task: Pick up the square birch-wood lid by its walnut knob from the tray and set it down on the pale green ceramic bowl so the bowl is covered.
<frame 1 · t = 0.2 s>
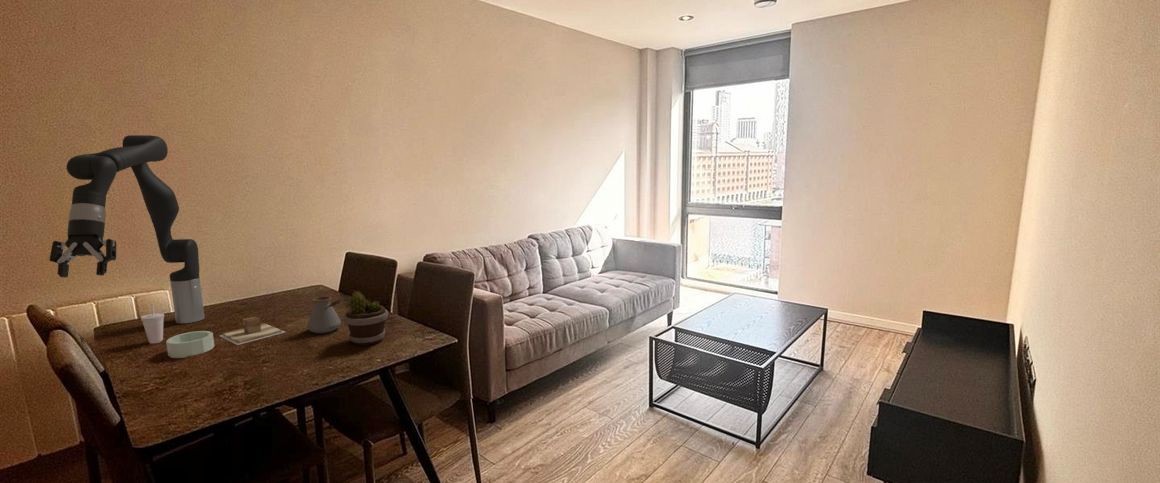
hand: (81, 276, 140), 31 cm above the table, tool tilted 20°, fingers open, 8 cm apart
coffee pot: (330, 334, 184), on the table
flowerpot: (367, 341, 177), on the table
bowl: (191, 351, 167), on the table
smoothie: (156, 342, 175), on the table
tray: (253, 334, 182), on the table
lid: (253, 333, 182), resting on tray
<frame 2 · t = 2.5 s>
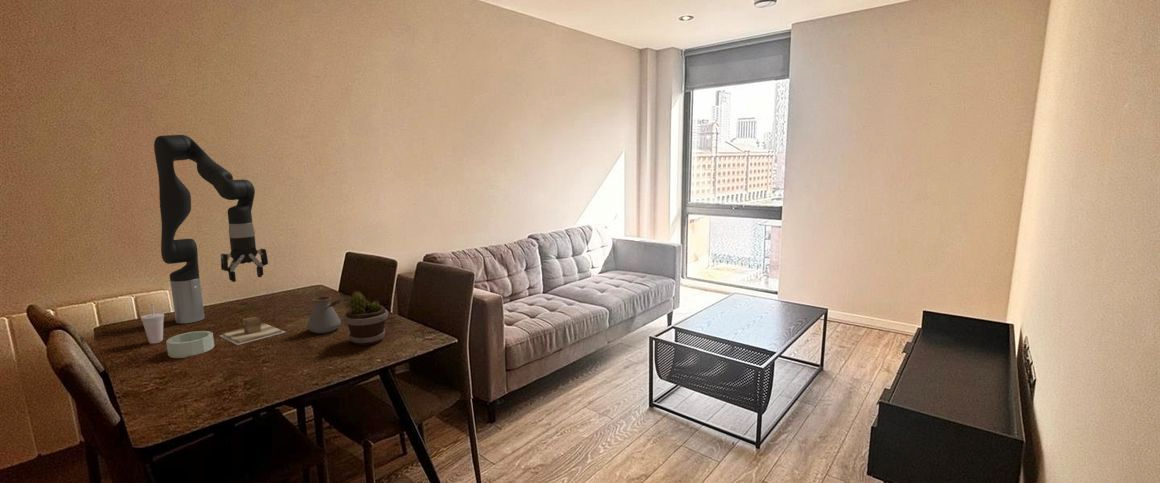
hand: (246, 279, 179), 21 cm above the table, tool pointing down, fingers open, 8 cm apart
nothing on the table moved.
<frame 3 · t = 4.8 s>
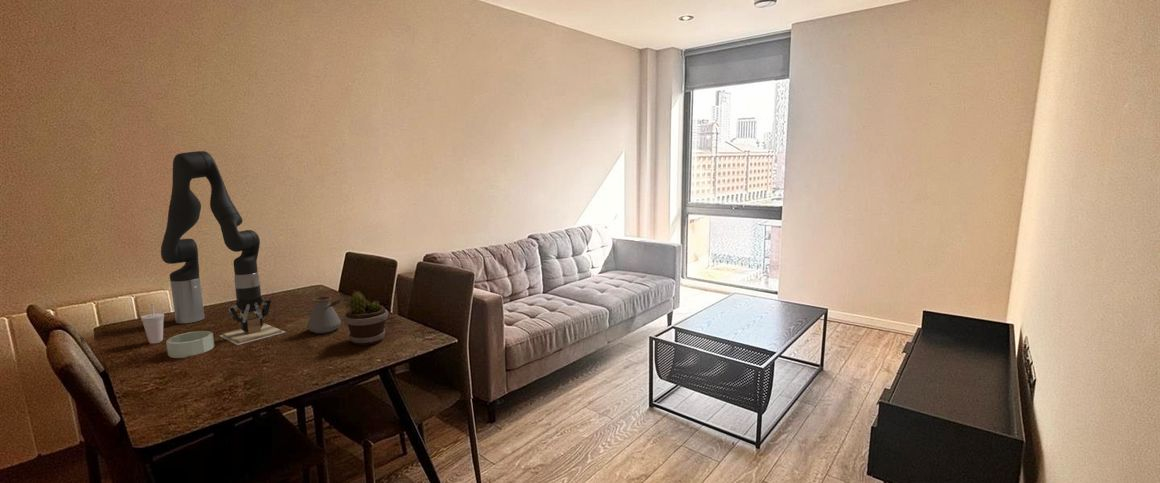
hand: (252, 329, 182), 2 cm above the table, tool pointing down, fingers closed on lid, 4 cm apart
lid: (253, 333, 182), resting on tray, touching gripper
everything else where it was.
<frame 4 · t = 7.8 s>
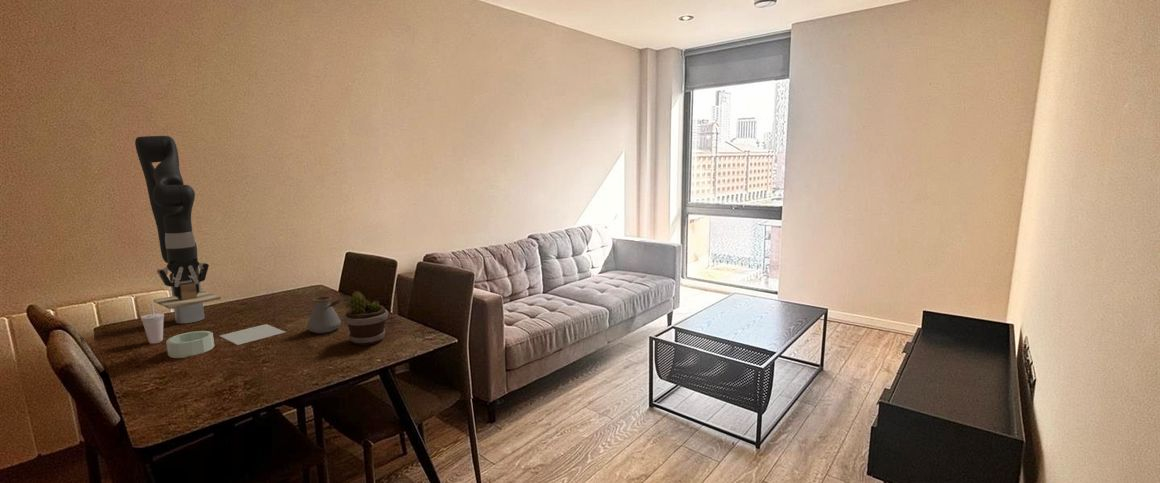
hand: (187, 295, 164), 19 cm above the table, tool pointing down, fingers closed on lid, 4 cm apart
lid: (187, 300, 164), point 18 cm above the table, touching gripper
everything else where it was.
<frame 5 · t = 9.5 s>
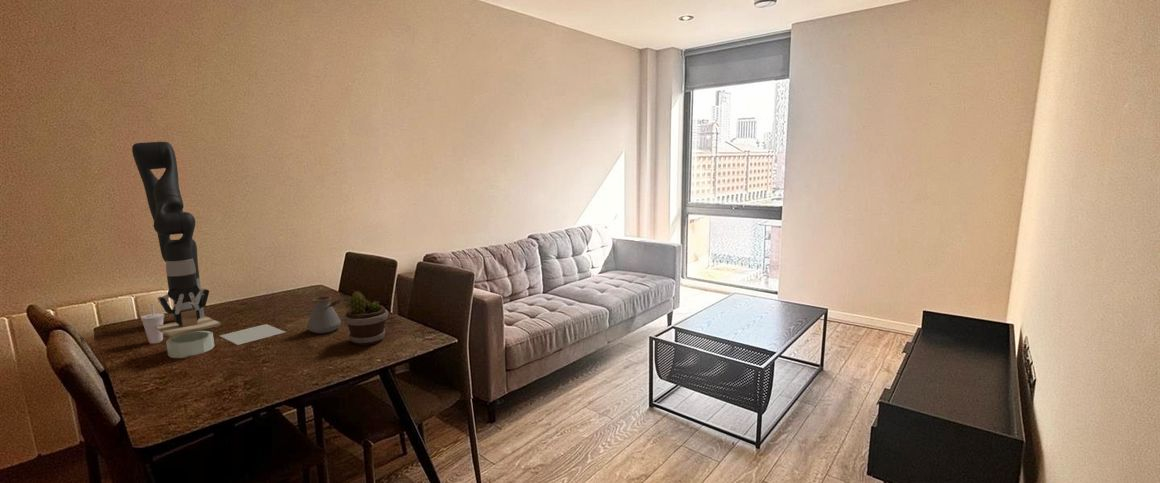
hand: (187, 322, 165), 10 cm above the table, tool pointing down, fingers closed on lid, 4 cm apart
lid: (188, 326, 165), point 9 cm above the table, touching gripper
everything else where it was.
when the fingers open (8 cm above the table, at t = 10.7 s): lid drops 2 cm, resting on bowl.
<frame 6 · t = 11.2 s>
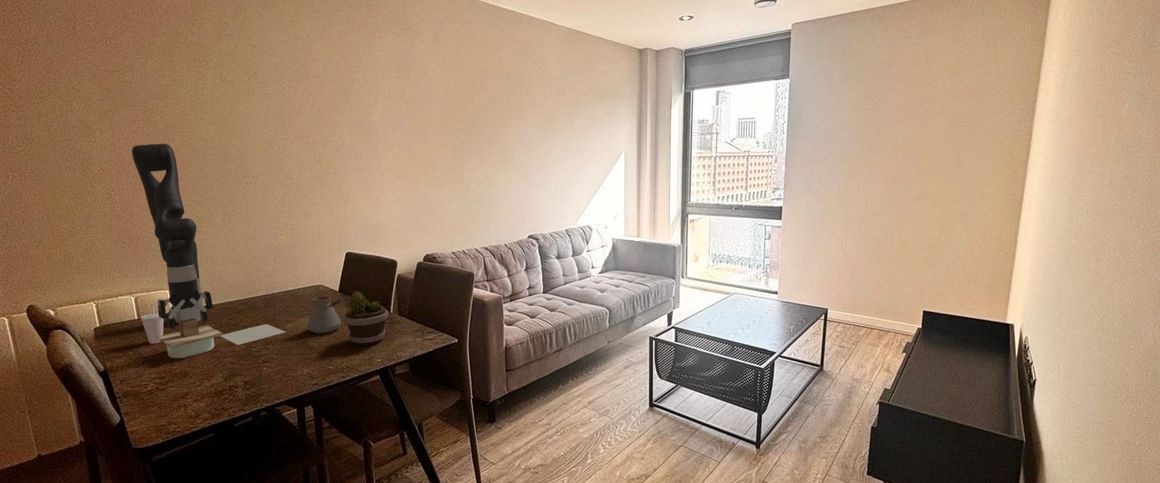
hand: (188, 325, 165), 9 cm above the table, tool pointing down, fingers open, 8 cm apart
lid: (190, 336, 166), point 5 cm above the table, touching bowl
everything else where it was.
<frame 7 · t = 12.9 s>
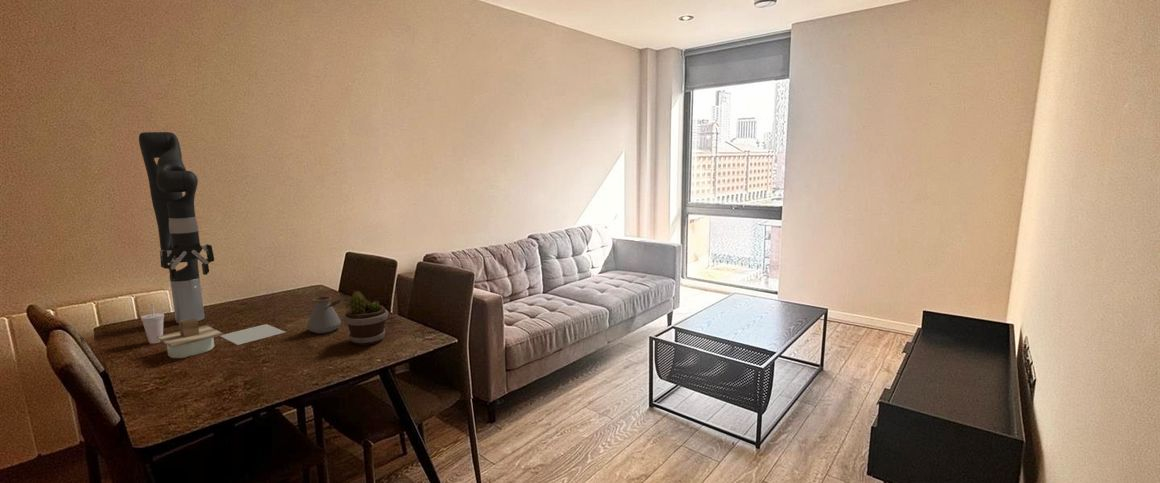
hand: (190, 277, 168), 25 cm above the table, tool pointing down, fingers open, 8 cm apart
nothing on the table moved.
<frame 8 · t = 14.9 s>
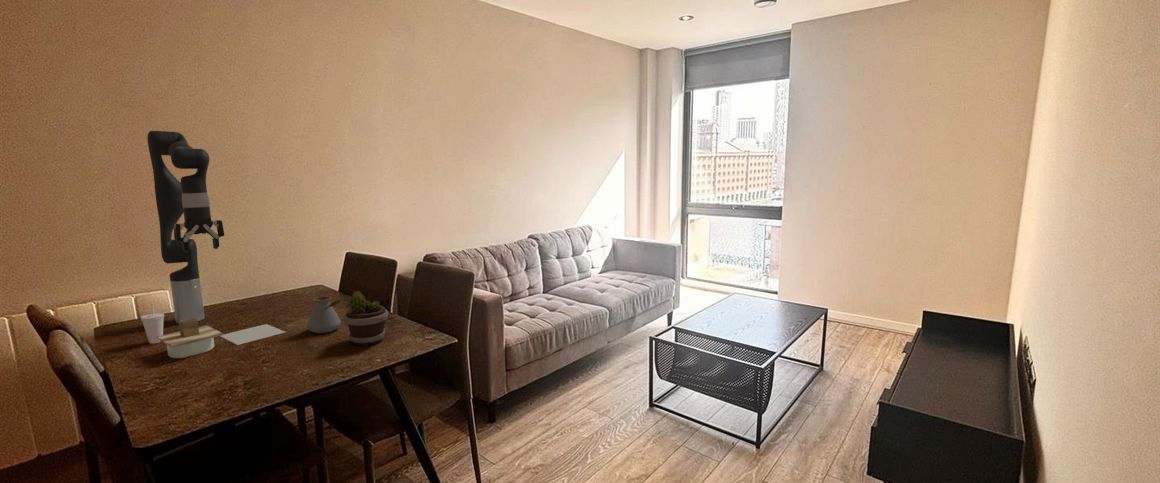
hand: (201, 250, 176), 32 cm above the table, tool pointing down, fingers open, 8 cm apart
nothing on the table moved.
at the end: lid 0.1 cm from the bowl (horizontally); lid 0.1 cm off-centre on the bowl, point 5.0 cm above the bowl's base; lid tilted 0° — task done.
